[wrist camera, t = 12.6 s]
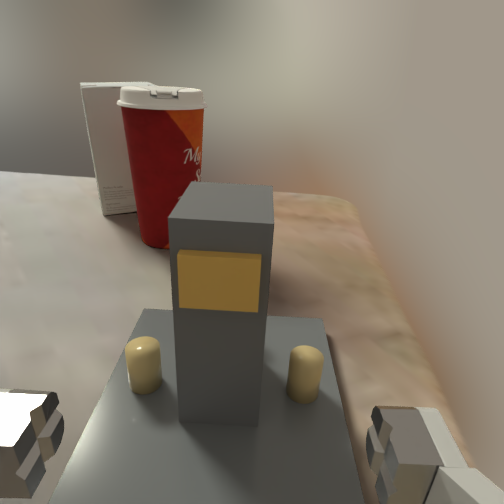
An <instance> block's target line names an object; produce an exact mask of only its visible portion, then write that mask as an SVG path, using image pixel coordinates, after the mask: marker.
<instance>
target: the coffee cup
mask: <svg viewBox="0 0 504 504" xmlns="http://www.w3.org/2000/svg"><path fill="white" fill-rule="evenodd" d="M117 105H119V106H121V111H122V117H123V124H124V130H125V137H126V143H127V150H128V157H129V163H130V170H131V176H132V183H133V189H134V196H135V202H136V208H137V215H138V221H139V227H140V232H141V237H142V240H143V242H144V243H145V244H146V245H148V246H151V247H154V248H160V249H170V248H169V229H168V217H169V215H170V214H171V212H172V211H173V209H174V208H175V206H176V204H177V203H178V201H179V200H180V198H181V197H182V195H183V194H184V192H185V191H186V189H187V188H188V186H189V184H190V183H191V181H194V182H200V181H201V158H202V136H203V135H202V134H203V113H204V108H206V107H207V104H206V103H204V100H203V93H202V91H201V90H199V89H193V88H182V87H167V86H124V87H121V90H120V100H118V101H117Z"/></svg>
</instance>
